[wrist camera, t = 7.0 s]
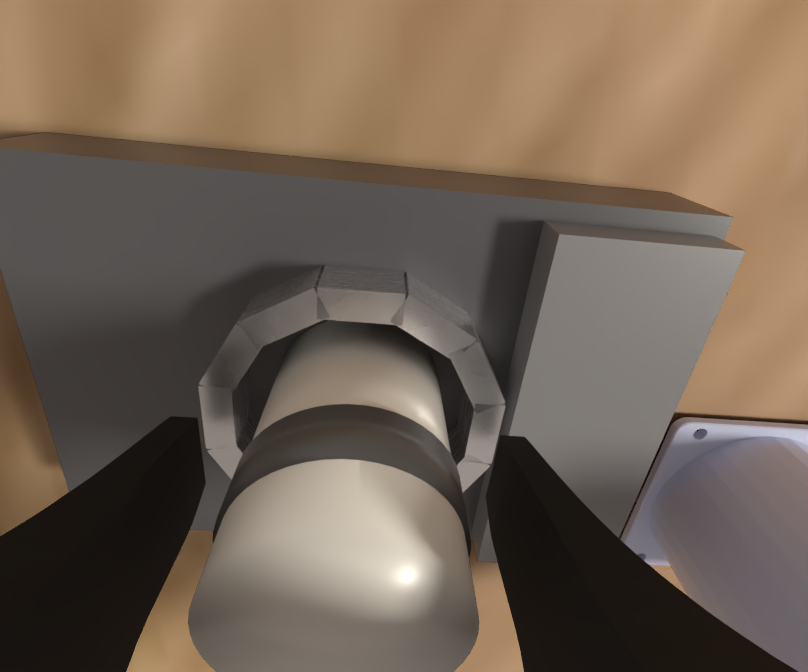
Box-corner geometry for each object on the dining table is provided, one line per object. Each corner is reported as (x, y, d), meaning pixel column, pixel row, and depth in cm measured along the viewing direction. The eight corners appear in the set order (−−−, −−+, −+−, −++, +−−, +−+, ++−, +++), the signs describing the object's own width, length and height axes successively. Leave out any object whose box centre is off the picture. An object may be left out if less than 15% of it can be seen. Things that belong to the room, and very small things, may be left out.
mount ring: (514, 280, 12) (530, 303, 11) (467, 497, 16) (474, 535, 15) (207, 255, 12) (185, 276, 11) (230, 486, 16) (215, 524, 14)
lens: (458, 326, 13) (522, 546, 7) (424, 459, 15) (449, 717, 9) (279, 300, 13) (174, 512, 6) (270, 441, 15) (186, 702, 9)
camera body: (670, 192, 15) (767, 230, 11) (569, 485, 20) (610, 576, 16) (47, 132, 13) (-86, 151, 10) (123, 462, 19) (57, 556, 15)
